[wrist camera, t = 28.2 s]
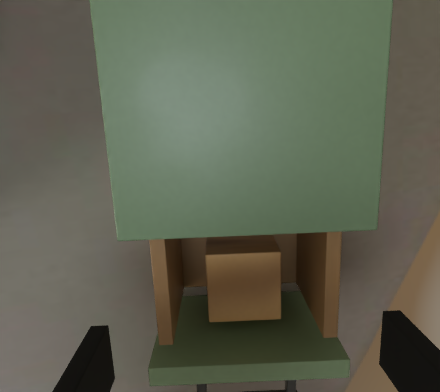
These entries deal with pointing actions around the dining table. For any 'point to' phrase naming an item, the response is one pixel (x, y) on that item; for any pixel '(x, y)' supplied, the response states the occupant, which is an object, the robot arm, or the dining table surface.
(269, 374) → the drawer
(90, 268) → the dining table surface
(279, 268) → the block
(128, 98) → the cabinet
